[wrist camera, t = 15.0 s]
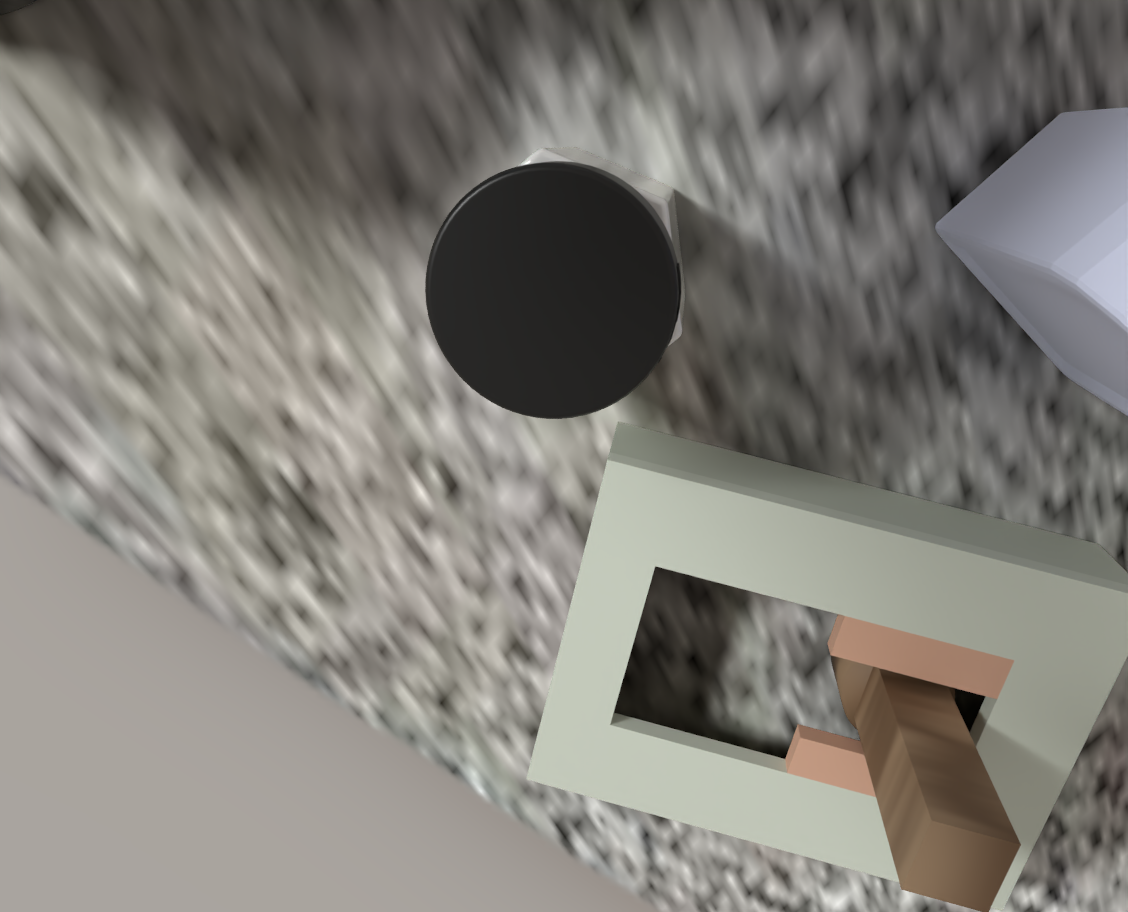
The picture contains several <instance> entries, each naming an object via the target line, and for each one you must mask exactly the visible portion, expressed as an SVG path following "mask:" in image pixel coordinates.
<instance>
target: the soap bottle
mask: <svg viewBox="0 0 1128 912" xmlns="http://www.w3.org/2000/svg"><path fill="white" fill-rule="evenodd" d="M935 229H936V231H937V233H938V234H939V236H940V237H941V238H942V239H943V241H944V242H945V243H946V244H947V245H948V246H949V247H950V249H951V250H952V251H953V252H954V253H955V254H956V255H957V256H958V257H959V259H960V260H961V261H962V262H963V263H964V264H965V265H966V266H967V268H968V269H969V270H970V271H971V272H972V273H973V274H974V275H975V276H976V278H977V279H978V280H979V281H980V282H981V283H982V284H983V285H984V286H985V288H986V289H987V290H988V291H989V292H990V293H991V294H992V295H993V296H994V298H995V299H996V300H997V301H998V302H999V303H1000V304H1001V305H1002V306H1003V308H1004V309H1005V310H1006V311H1007V312H1008V313H1009V314H1010V315H1011V316H1012V318H1013V319H1014V320H1015V321H1016V322H1017V323H1018V324H1019V325H1020V327H1021V328H1022V329H1023V330H1024V331H1025V332H1026V333H1027V334H1028V335H1029V337H1030V338H1031V339H1032V340H1033V341H1034V342H1035V343H1036V344H1037V345H1038V347H1039V348H1040V349H1041V350H1042V351H1043V352H1044V353H1045V354H1046V355H1047V357H1048V358H1049V359H1050V360H1051V361H1052V362H1053V363H1054V364H1055V365H1056V367H1057V368H1058V369H1059V370H1060V371H1061V372H1062V373H1063V374H1064V375H1066V376H1067V377H1068V378H1069V379H1070V380H1072V381H1073V382H1075V383H1076V384H1078V385H1079V386H1081V387H1082V388H1084V389H1086V390H1087V391H1089V392H1090V393H1092V394H1093V395H1095V396H1097V397H1098V398H1100V399H1101V400H1103V401H1104V402H1106V403H1108V404H1109V405H1111V406H1112V407H1114V408H1115V409H1117V410H1119V411H1120V412H1122V413H1123V414H1125V415H1126V416H1128V107H1124V108H1112V109H1099V110H1087V111H1074V112H1064V113H1060V114H1059V115H1058V116H1057V117H1056V118H1055V119H1054V120H1053V121H1051V122H1050V123H1049V124H1048V125H1047V126H1046V127H1045V128H1043V129H1042V130H1041V131H1040V132H1039V133H1038V134H1037V135H1036V136H1034V137H1033V138H1032V139H1031V140H1030V141H1029V142H1028V143H1026V144H1025V145H1024V146H1023V147H1022V148H1021V149H1020V150H1019V151H1017V152H1016V153H1015V154H1014V155H1013V156H1012V157H1011V158H1009V159H1008V160H1007V161H1006V162H1005V163H1004V164H1003V165H1002V166H1000V167H999V168H998V169H997V170H996V171H995V172H994V173H992V174H991V175H990V176H989V177H988V178H987V179H986V180H985V181H983V182H982V183H981V184H980V185H979V186H978V187H977V188H976V189H974V190H973V191H972V192H971V193H970V194H969V195H968V196H966V197H965V198H964V199H963V200H962V201H961V202H960V203H959V204H957V205H956V206H955V207H954V208H953V209H952V210H951V211H949V212H948V213H947V214H946V215H945V216H944V217H943V218H942V219H940V220H939V221H938V222H937V223H936V226H935Z"/></svg>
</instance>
